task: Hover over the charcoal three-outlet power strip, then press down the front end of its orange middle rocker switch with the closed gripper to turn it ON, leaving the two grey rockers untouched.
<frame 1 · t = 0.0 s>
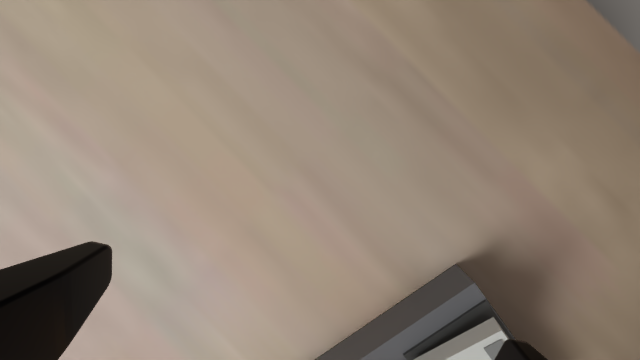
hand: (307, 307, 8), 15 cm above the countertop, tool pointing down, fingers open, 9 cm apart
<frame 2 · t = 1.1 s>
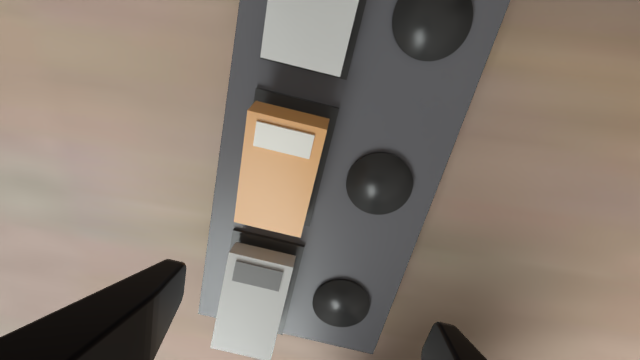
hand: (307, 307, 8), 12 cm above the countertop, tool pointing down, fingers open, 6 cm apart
power strip: (330, 151, 19), on the countertop
rocker 2: (252, 302, 17), point 5 cm above the countertop, hinge at 8.0°
middle rocker: (279, 173, 15), point 5 cm above the countertop, hinge at -8.0°
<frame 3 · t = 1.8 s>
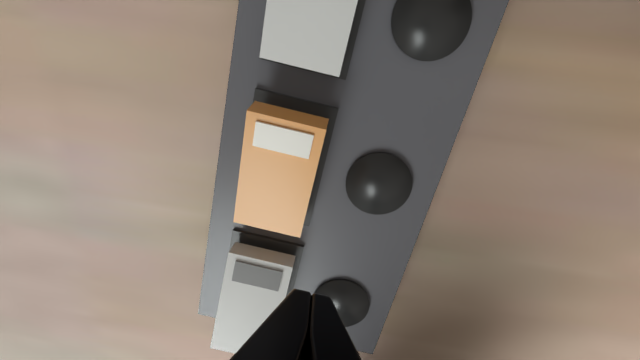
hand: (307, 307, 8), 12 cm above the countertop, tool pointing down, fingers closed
power strip: (330, 151, 19), on the countertop
rocker 2: (252, 302, 17), point 5 cm above the countertop, hinge at 8.0°
middle rocker: (278, 173, 15), point 5 cm above the countertop, hinge at -8.0°
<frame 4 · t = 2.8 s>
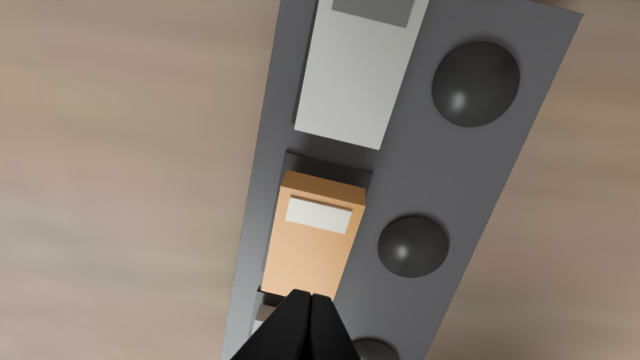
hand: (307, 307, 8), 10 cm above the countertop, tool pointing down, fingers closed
power strip: (356, 204, 18), on the countertop
rocker 1: (356, 60, 12), point 5 cm above the countertop, hinge at -8.0°
middle rocker: (310, 243, 14), point 5 cm above the countertop, hinge at -8.0°
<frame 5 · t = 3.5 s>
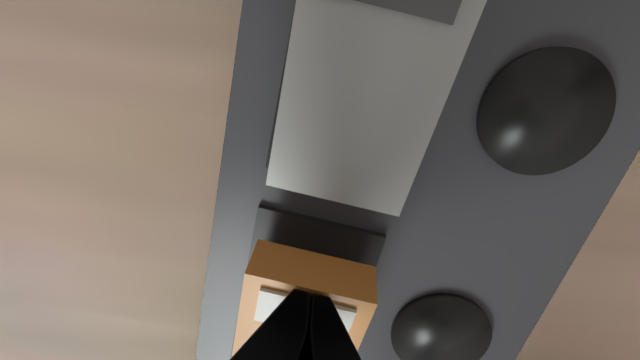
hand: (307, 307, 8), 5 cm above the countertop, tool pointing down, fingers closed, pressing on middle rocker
power strip: (360, 259, 14), on the countertop
rocker 1: (365, 77, 7), point 5 cm above the countertop, hinge at -8.0°
middle rocker: (294, 340, 10), point 5 cm above the countertop, hinge at -8.0°, touching gripper
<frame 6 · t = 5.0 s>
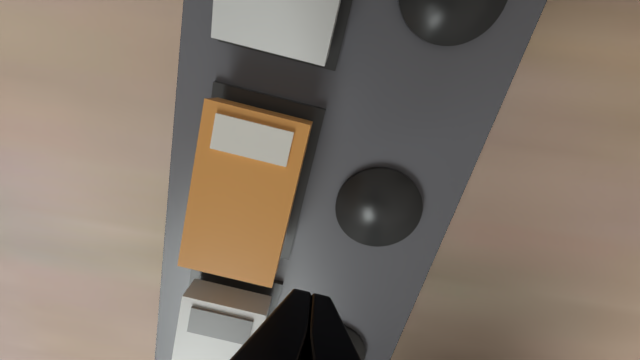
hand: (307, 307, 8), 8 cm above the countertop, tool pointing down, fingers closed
power strip: (317, 162, 15), on the countertop
rocker 2: (216, 355, 14), point 5 cm above the countertop, hinge at 8.0°
middle rocker: (244, 194, 11), point 5 cm above the countertop, hinge at 8.3°
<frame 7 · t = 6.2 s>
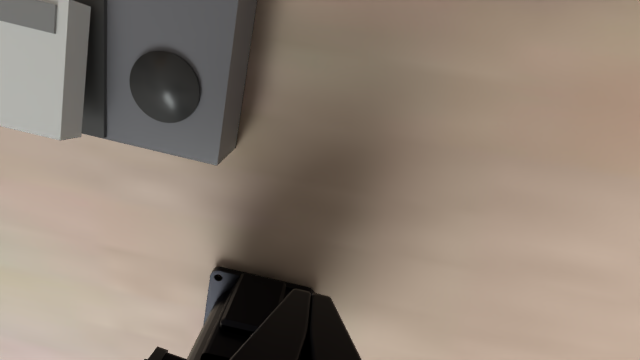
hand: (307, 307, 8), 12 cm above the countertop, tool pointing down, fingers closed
rocker 2: (36, 64, 14), point 5 cm above the countertop, hinge at 8.0°
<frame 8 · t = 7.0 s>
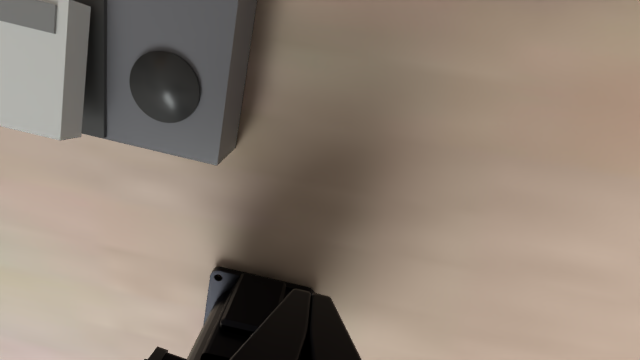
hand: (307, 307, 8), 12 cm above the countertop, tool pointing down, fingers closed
rocker 2: (36, 64, 14), point 5 cm above the countertop, hinge at 8.0°
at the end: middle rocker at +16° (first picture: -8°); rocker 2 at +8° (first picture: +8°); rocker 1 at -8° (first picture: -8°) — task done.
